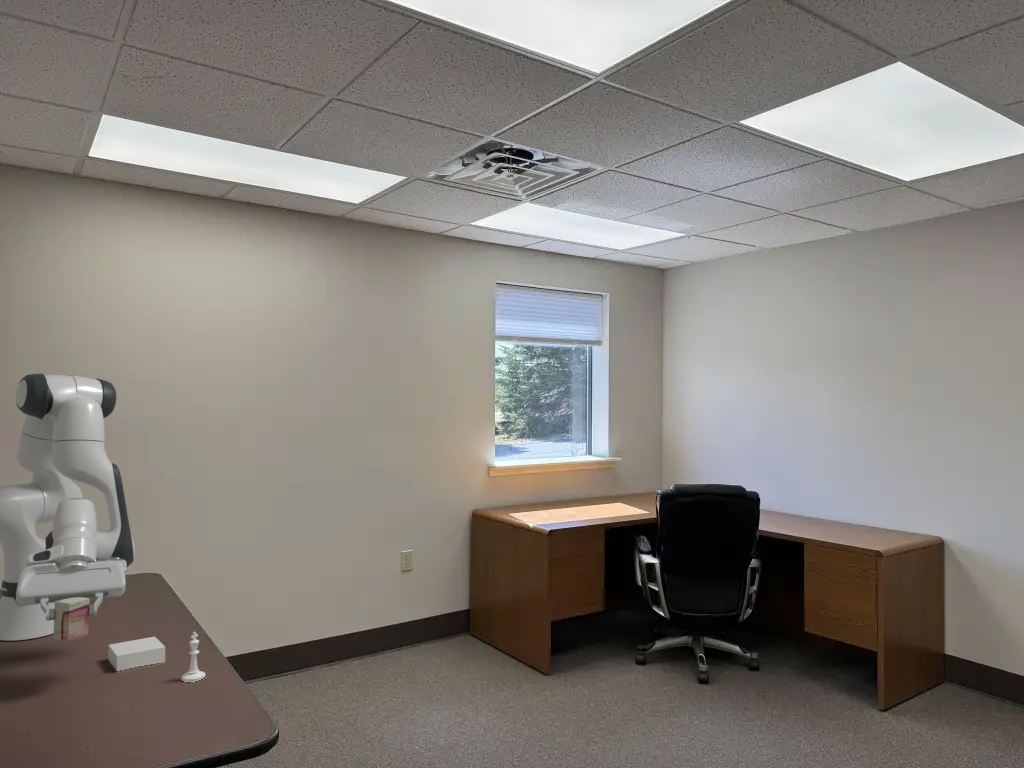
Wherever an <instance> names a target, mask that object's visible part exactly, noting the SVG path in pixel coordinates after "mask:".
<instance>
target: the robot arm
mask: <svg viewBox="0 0 1024 768" xmlns="http://www.w3.org/2000/svg"><path fill="white" fill-rule="evenodd" d="M15 402H16V407H17V408H18V410H20V411H21V413H23V414H25V418H24V422H23V425H22V429H21V434H20V438H19V441H18V443H19V444H18V447H17V452H16V460H17V462H18V464H19V466H21V468H23V469H25V470H27V471H29V472H31V473H32V479H31V481H30V482H27V483H26V482H25V483H16V484H5V485H1V486H0V545H1V548H2V555H3V580H2V581H1V585H0V590H1V591H0V595H1V597H0V641H22V640H23V641H25V640H30V639H31V640H32V639H36V638H41V637H45V636H50V635H53V634H54V607H55V602H56V601H60V600H63V599H67V598H72V597H75V596H76V597H83V598H89V599H90V600H95V602H94V603H93V604H89V617H90V616H92V617H93V616H97V615H98V608H99V607H100V606H101V604H103V603H102V602H103V601H104V598H112V597H113V598H114V597H121V596H122V595H123V594H124V593H125V592H126V587H127V586H126V585H127V583H126V582H127V581H126V574H125V573H127V572H126V571H127V570H128V567H130V566H131V564H133V562H134V560H135V556H136V545H135V540H134V537H133V535H132V532H131V526H130V522H129V514H128V509H127V508H128V507H127V502H126V495H125V489H124V484H123V480H122V476H121V472H120V469H119V466H118V465H117V464H115V463H113V462H111V461H110V459H109V457H108V455H107V452H106V447H105V445H106V444H105V443H106V441H105V440H106V439H105V437H106V434H105V432H106V431H105V429H106V428H105V421H104V419H105V418H108V417H109V416H110V415H111V414H112V413H113V412H114V410H115V408H116V405H117V390H116V388H115V386H114V385H113V383H112V382H110V381H109V380H108V381H107V380H104V379H101V378H91V377H87V376H80V375H73V374H69V375H65V374H63V375H62V374H44V373H31V374H26V375H25V376H23V377H22V378H21V379H20V380H19V382H18V385H17V387H16V391H15ZM74 481H76V482H79V483H82V484H85V485H88V486H91V487H94V488H95V489H97V490H99V491H100V492H101V493H102V494H103V495H104V497H105V499H106V505H107V509H108V517H109V518H108V519H109V523H110V528H109V529H108V530H100V531H98V519H97V518H98V517H97V512H96V507H95V504H94V502H93V501H91V500H90V499H86V498H84V496H83V495H84V494H83V492H82V490H81V488H80V486H78V485H77V484H76V483H75V482H74ZM49 523H50V524H51V523H52V530H51V531H49V533H48V535H46V537H45V539H44V538H41V537H38V535H37V532H36V525H40V524H49Z"/></svg>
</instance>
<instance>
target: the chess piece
mask: <svg viewBox="0 0 1024 768" xmlns="http://www.w3.org/2000/svg"><path fill="white" fill-rule="evenodd" d="M197 637H199V634H198V633H197V632H196V631H193V632H192V635H190V639H191V640H190V641H189V642H188V643H189V644H188V645H189V646H190V649H191V650H189V652H188V655H191V658H190V665H189V670H188V671H187V672H185V673H183V675H181V679H180V681H181V680H182V681H184V682H183V683H187V682H191V683H196V682H195V681H198V680H201V679H203V678H204V677H205V676H206V672H205V671H201V670H200V669H199V667H198V660H197V659H198V657H197V654H199V653H200V650H198V646H199V643H200V640H199V639H197ZM205 678H206V677H205ZM203 680H204V679H203ZM182 681H181V682H182ZM201 681H202V680H201ZM198 682H199V681H198Z"/></svg>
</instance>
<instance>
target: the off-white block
mask: <svg viewBox="0 0 1024 768" xmlns="http://www.w3.org/2000/svg"><path fill="white" fill-rule="evenodd" d="M107 650H108V651H107V653H108V654H107V655H108V657H107V658H108V659H107V661H108V660H109V661H110V662H111V664H112V665H113V666H114V668H115V669H116V671H120V670H125V669H129V668H134V667H138V666H144V665H150V664H156V663H163V662H165V663H166V646H165V645H164V644H163V643H162V642H161V641H160V640H159V639H158V638H157V637H156V636H151V637H144V638H140V639H134V640H133V639H132V640H126V641H122V642H121V641H120V642H117V643H111V644H108V649H107ZM109 661H108V662H109ZM110 662H109V663H110ZM111 664H110V665H111ZM163 664H164V663H163ZM112 665H111V666H112ZM113 666H112V667H113ZM114 668H113V669H114ZM115 669H114V670H115ZM116 671H115V672H116Z"/></svg>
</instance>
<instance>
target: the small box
mask: <svg viewBox="0 0 1024 768" xmlns="http://www.w3.org/2000/svg"><path fill="white" fill-rule="evenodd" d="M90 601H91V599H89V598H83V597H76V596H75V597H72V598H67V599H63V600H60V601H56V602H55V607H54V633H53V634H52V635H53V636H52V637H53V640H58V641H63V642H71V641H74V640H76V639H77V640H78V639H79V638H83V637H87V636H89V625H90V616H89V605H90Z"/></svg>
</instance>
